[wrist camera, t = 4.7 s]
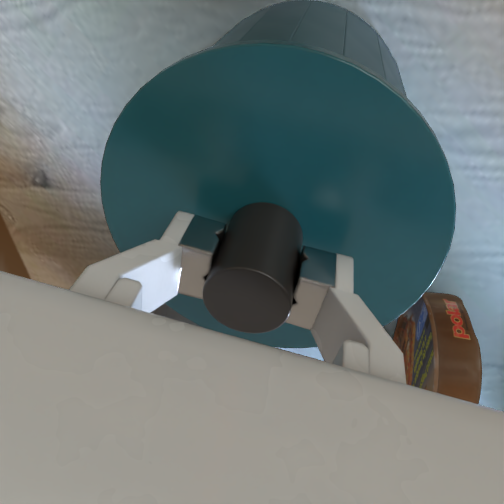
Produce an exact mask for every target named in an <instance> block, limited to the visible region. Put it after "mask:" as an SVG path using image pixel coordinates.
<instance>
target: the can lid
mask: <svg viewBox="0 0 504 504" xmlns="http://www.w3.org/2000/svg"><path fill="white" fill-rule="evenodd" d="M100 183H101V197H102V204H103V209H104V213H105V218H106V221H107V224H108V227H109V230H110V232H111V235H112V238H113V240H114V242H115V244H116V246H117V248H118V250H119V252H120V253H121V252H124V251H126V250H129V249H131V248H134V247H136V246H139V245H141V244H144V243H147V242H149V241H152V240H154V239H156V240H160V239H161V237H162V235H163V234H164V232H165V230H166V229H167V227H168V226H169V224H170V222H171V221H172V219H173V217H174V216H175V214H176V213H177V212H178V211H183V212H187V213H191V214H194V215H198V216H201V217H205V218H208V219H211V220H215V221H218V222H222V223H225V224H227V227H226V233H225V236H224V238H223V241H222V243H221V246H220V248H219V250H218V252H217V255H216V258H215V260H214V263H213V265H212V267H211V270H210V272H209V274H208V276H207V279H206V281H205V283H204V286H203V291H202V295H203V299H199V298H195V297H191V296H187V295H183V294H179V293H177V295H176V296H175V297H173V298H172V299H170V300H169V301H167V302H166V303H165V304H166V305H167V306H168V307H170V308H171V309H173V310H174V311H176V312H177V313H179V314H180V315H182V316H183V317H185V318H187V319H188V320H190V321H192V322H194V323H196V324H197V325H199V326H202V327H204V328H206V329H210V330H213V331H217V332H221V333H224V334H228V335H231V336H235V337H239V338H242V339H246V340H249V341H253V342H257V343H260V344H264V345H267V346H271V347H280V348H309V347H318V346H317V344H316V342H315V340H314V337H313V335H312V333H311V330H309V329H305V328H302V327H299V326H296V325H292V324H289V323H286V322H285V321H286V320H287V319H288V317H289V315H290V312H291V308H292V302H293V295H294V288H295V282H296V277H297V271H298V264H299V258H300V253H301V250H302V248H303V246H304V245H305V246H309V247H313V248H316V249H320V250H324V251H328V252H331V253H335V254H336V253H338V254H342V255H346V256H350V257H352V258H353V259H354V294H357V295H359V297H360V298H361V299H362V300H363V302H364V303H365V304H366V306H367V307H368V308H369V310H370V311H371V312H372V314H373V315H374V316H375V318H376V319H377V320H378V321H379V323H380V324H381V325H382V327H383V326H385V325H386V324H388V323H390V322H392V321H393V320H394V319H396V318H397V317H399V316H400V315H402V314H403V313H404V312H406V311H407V310H408V309H409V308H410V307H411V306H412V305H413V304H415V303H416V302H417V301H418V300H419V299H420V298H421V297H422V295H423V294H424V293H425V292H426V291H427V289H428V288H429V287H430V286H431V285H432V283H433V281H434V280H435V278H436V277H437V275H438V273H439V272H440V270H441V268H442V266H443V264H444V261H445V259H446V257H447V254H448V252H449V250H450V246H451V242H452V238H453V233H454V229H455V215H456V202H455V192H454V184H453V180H452V177H451V173H450V169H449V166H448V162H447V159H446V157H445V154H444V152H443V150H442V148H441V146H440V144H439V142H438V140H437V137H436V135H435V133H434V132H433V130H432V129H431V127H430V126H429V124H428V123H427V121H426V120H425V118H424V117H423V116H422V114H421V113H420V111H419V110H418V109H417V108H416V107H415V106H414V105H413V104H412V103H411V102H410V101H409V100H408V98H407V97H406V96H405V95H404V94H403V93H402V92H401V91H400V90H398V89H397V88H396V87H395V86H393V85H392V84H391V83H389V82H388V81H387V80H386V79H384V78H383V77H382V76H380V75H379V74H378V73H376V72H374V71H372V70H371V69H369V68H367V67H365V66H364V65H362V64H360V63H358V62H357V61H355V60H353V59H351V58H348V57H345V56H343V55H340V54H338V53H335V52H333V51H330V50H327V49H325V48H320V47H316V46H312V45H307V44H303V43H299V42H291V41H279V40H267V39H266V40H251V41H237V42H232V43H228V44H223V45H218V46H214V47H210V48H207V49H205V50H202V51H199V52H197V53H194V54H192V55H189V56H186V57H185V58H183V59H181V60H179V61H178V62H176V63H174V64H172V65H171V66H169V67H167V68H165V69H164V70H163V71H161V72H160V73H159V74H158V75H156V76H155V77H154V78H153V79H151V80H150V81H149V82H148V83H146V84H145V85H144V86H143V87H142V88H140V90H139V91H138V92H137V93H136V94H135V95H134V96H133V98H132V99H131V100H130V101H129V102H128V103H127V104H126V106H125V107H124V109H123V110H122V112H121V114H120V115H119V117H118V118H117V120H116V122H115V123H114V126H113V128H112V130H111V133H110V135H109V138H108V140H107V143H106V147H105V151H104V155H103V160H102V167H101V181H100Z"/></svg>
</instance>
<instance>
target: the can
mask: <svg viewBox="0 0 504 504" xmlns="http://www.w3.org/2000/svg"><path fill="white" fill-rule="evenodd" d="M266 39H267V40H279V41H291V42H299V43H303V44H307V45H312V46H316V47H320V48H325V49H327V50H330V51H333V52H335V53H338V54H340V55H343V56H345V57H348V58H351V59H353V60H355V61H357V62H358V63H360V64H362V65H364V66H365V67H367V68H369V69H371V70H372V71H374V72H376V73H378V74H379V75H380V76H382V77H383V78H384V79H386V80H387V81H388V82H389V83H391V84H392V85H393V86H395V87H396V88H397V89H398V90H400V91H401V92H402V93H403V94H404V95H405V96H406V94H405V90H404V87H403V83H402V80H401V77H400V73H399V70H398V67H397V63H396V61H395V59H394V58H393V56H392V55H391V53H390V51H389V49H388V47H387V46H386V44H385V43H384V41H383V40H382V38H381V37H380V36H379V35H378V33H376V31H375V30H374V29H373V28H372V27H371V26H370V25H369V24H367V23H366V22H365V21H364V20H362V19H361V18H360V17H358V16H357V15H355V14H353V13H351V12H350V11H348V10H346V9H344V8H341V7H338V6H336V5H333V4H329V3H325V2H320V1H311V0H297V1H287V2H283V3H279V4H274V5H272V6H269V7H267V8H264V9H262V10H260V11H258V12H256V13H255V14H253V15H251V16H249V17H247V18H245V19H244V20H242V21H241V22H240V23H239V24H237V25H236V26H235V27H234V28H233V29H232V30H231V31H230V32H228V33H227V34H226V35H225V36H224V37H223V38H222V39H220V40H219V41H218V42H217V43H216V44H215V45H214V46H218V45H223V44H228V43H232V42H237V41H251V40H266ZM214 46H213V47H214Z"/></svg>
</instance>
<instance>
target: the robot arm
mask: <svg viewBox="0 0 504 504" xmlns="http://www.w3.org/2000/svg"><path fill="white" fill-rule="evenodd" d="M226 227H227V224H225V223H222V222H218V221H215V220H211V219H208V218H205V217H201V216H198V215H194V214H191V213H187V212H183V211H178V212H177V213H176V214H175V216H174V217H173V219H172V221H171V222H170V224H169V226H168V227H167V229H166V230H165V232H164V234H163V235H162V237H161V239H160V240H156V239H154V240H152V241H149V242H147V243H144V244H141V245H139V246H136V247H134V248H131V249H129V250H126V251H124V252H121V253H119V254H116V255H114V256H111V257H109V258H106V259H104V260H101V261H99V262H96V263H94V264H91V265H88V266H87V267H86V269H85V270H84V271H83V272H82V274H81V275H80V276H79V278H78V279H77V280H76V281H75V283H74V284H73V285H72V286H71V288H70V289H69V290H67V289H63V288H60V287H56V286H52V285H49V284H45V283H42V282H38V281H35V280H31V279H27V278H24V277H20V276H17V275H13V274H10V273H6V272H2V271H0V504H504V411H500V410H497V409H493V408H490V407H486V406H482V405H479V404H475V403H472V402H468V401H464V400H461V399H457V398H454V397H450V396H447V395H443V394H439V393H436V392H432V391H429V390H425V389H422V388H418V387H414V386H411V385H407V384H406V375H405V366H404V357H403V353H402V352H401V350H400V349H399V348H398V346H397V345H396V344H395V342H394V341H393V340H392V338H391V337H390V336H389V335H388V333H387V332H386V331H385V329H384V328H383V327H382V325H381V324H380V323H379V321H378V320H377V319H376V318H375V316H374V315H373V314H372V312H371V311H370V310H369V308H368V307H367V306H366V304H365V303H364V302H363V300H362V299H361V298H360V297H359V295H357V294H354V259H353V258H352V257H350V256H346V255H342V254H338V253H336V254H335V253H331V252H328V251H324V250H320V249H316V248H313V247H309V246H305V245H304V246H303V248H302V250H301V253H300V258H299V264H298V271H297V277H296V282H295V288H294V295H293V302H292V308H291V312H290V315H289V317H288V319H287V320H286V321H285V322H286V323H289V324H292V325H296V326H299V327H302V328H305V329H309V330H311V333H312V335H313V337H314V340H315V342H316V344H317V346H318V348H319V350H320V352H321V354H322V357H323V359H324V361H321V360H318V359H314V358H310V357H307V356H303V355H300V354H296V353H292V352H289V351H285V350H282V349H278V348H275V347H271V346H267V345H264V344H260V343H257V342H253V341H249V340H246V339H242V338H239V337H235V336H231V335H228V334H224V333H221V332H217V331H213V330H210V329H206V328H203V327H199V326H196V325H192V324H188V323H185V322H181V321H178V320H174V319H171V318H167V317H163V316H160V315H156V314H153V313H150V312H152V311H154V310H155V309H157V308H158V307H160V306H161V305H163V304H164V303H166V302H167V301H169V300H170V299H172V298H173V297H175V296H176V295H177V293H179V294H183V295H187V296H191V297H195V298H199V299H203V295H202V291H203V286H204V283H205V281H206V279H207V276H208V274H209V272H210V270H211V267H212V265H213V263H214V260H215V258H216V255H217V252H218V250H219V248H220V246H221V243H222V241H223V238H224V236H225V233H226Z"/></svg>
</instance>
